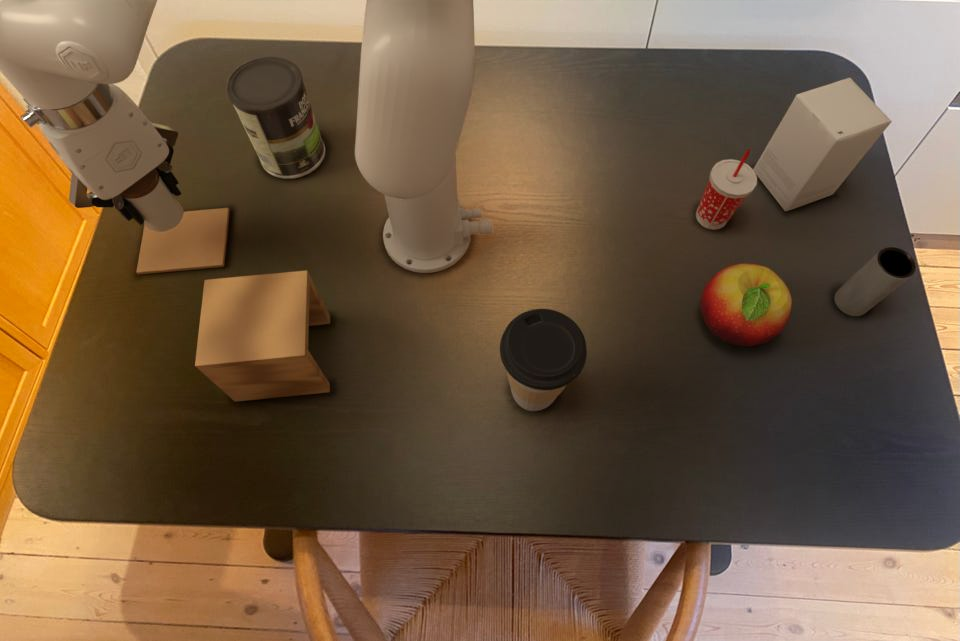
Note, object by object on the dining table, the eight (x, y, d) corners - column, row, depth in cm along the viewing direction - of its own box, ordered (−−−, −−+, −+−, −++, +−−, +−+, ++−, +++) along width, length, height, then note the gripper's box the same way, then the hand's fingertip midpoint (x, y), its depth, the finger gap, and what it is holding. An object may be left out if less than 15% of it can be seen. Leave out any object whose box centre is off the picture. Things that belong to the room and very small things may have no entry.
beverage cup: (737, 208, 90) (778, 141, 77) (726, 239, 87) (767, 175, 75) (696, 194, 91) (731, 126, 78) (685, 225, 89) (718, 159, 76)
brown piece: (330, 316, 82) (307, 270, 71) (329, 392, 77) (305, 355, 66) (241, 324, 82) (204, 279, 71) (234, 401, 77) (194, 366, 66)
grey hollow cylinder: (872, 298, 83) (921, 257, 74) (861, 322, 81) (910, 284, 72) (840, 282, 84) (884, 240, 75) (828, 306, 82) (872, 266, 73)
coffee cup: (527, 342, 80) (536, 286, 67) (585, 385, 77) (607, 335, 64) (482, 395, 77) (482, 347, 64) (541, 441, 74) (554, 401, 61)
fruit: (783, 307, 82) (819, 269, 73) (756, 371, 78) (792, 339, 69) (708, 273, 85) (735, 232, 76) (679, 333, 81) (703, 297, 72)
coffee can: (334, 134, 97) (312, 60, 84) (313, 184, 92) (286, 114, 80) (273, 124, 98) (242, 50, 85) (249, 173, 93) (213, 103, 81)
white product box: (835, 195, 91) (896, 121, 77) (784, 213, 89) (837, 141, 76) (799, 152, 95) (851, 74, 81) (750, 169, 93) (795, 92, 80)
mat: (229, 209, 90) (228, 207, 90) (224, 266, 86) (222, 264, 85) (148, 217, 90) (146, 214, 89) (138, 274, 85) (136, 272, 85)
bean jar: (186, 198, 83) (159, 158, 76) (182, 230, 81) (153, 192, 74) (146, 201, 83) (115, 162, 76) (141, 234, 81) (108, 196, 74)
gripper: (20, 163, 59) (118, 262, 76) (161, 68, 65) (223, 178, 82) (-22, 127, 62) (82, 230, 78) (118, 38, 68) (188, 151, 84)
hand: (154, 203), depth 80 cm, fingers closed on bean jar, 5 cm apart
